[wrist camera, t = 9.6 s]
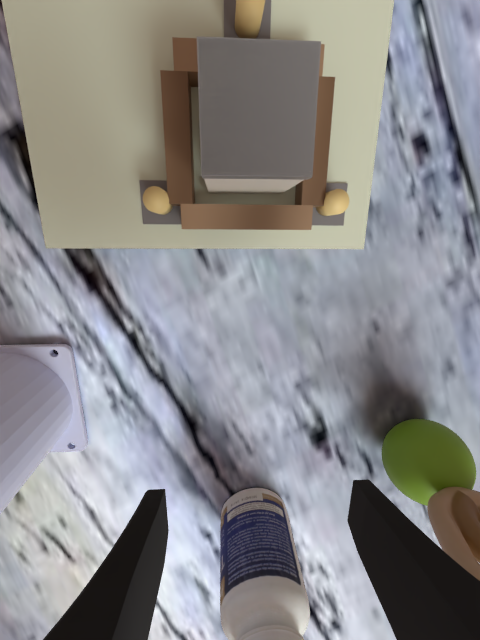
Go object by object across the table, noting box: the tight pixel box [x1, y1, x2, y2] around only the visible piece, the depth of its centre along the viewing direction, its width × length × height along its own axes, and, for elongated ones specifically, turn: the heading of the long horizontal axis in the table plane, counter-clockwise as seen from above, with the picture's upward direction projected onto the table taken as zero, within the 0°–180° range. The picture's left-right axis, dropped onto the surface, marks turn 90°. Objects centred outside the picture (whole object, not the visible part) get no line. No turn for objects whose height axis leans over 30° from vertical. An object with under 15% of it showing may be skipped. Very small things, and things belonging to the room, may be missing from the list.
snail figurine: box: [382, 419, 480, 581], centre depth 17 cm, size 5×6×12 cm
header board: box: [2, 0, 394, 249], centre depth 15 cm, size 18×12×3 cm, turn 90°
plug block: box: [197, 36, 321, 194], centre depth 13 cm, size 4×4×6 cm
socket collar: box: [160, 37, 335, 230], centre depth 15 cm, size 8×8×2 cm
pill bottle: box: [220, 488, 310, 640], centre depth 20 cm, size 5×5×10 cm
